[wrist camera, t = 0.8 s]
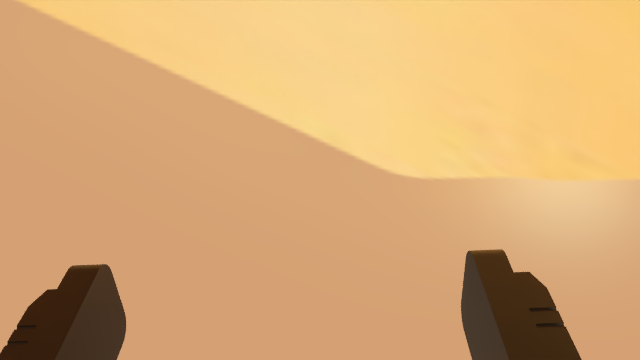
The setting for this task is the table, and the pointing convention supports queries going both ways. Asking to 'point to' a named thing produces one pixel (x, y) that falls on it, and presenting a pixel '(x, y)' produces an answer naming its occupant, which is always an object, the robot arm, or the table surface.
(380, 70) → the table surface
